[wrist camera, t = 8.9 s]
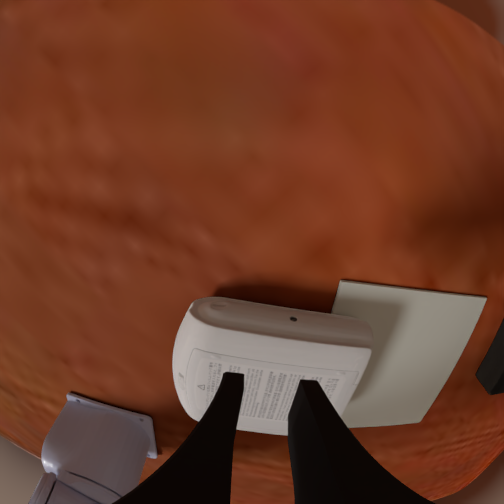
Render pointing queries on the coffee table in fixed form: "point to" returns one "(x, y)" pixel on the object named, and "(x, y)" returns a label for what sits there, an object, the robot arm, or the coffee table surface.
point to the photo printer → (266, 357)
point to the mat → (405, 348)
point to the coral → (493, 365)
